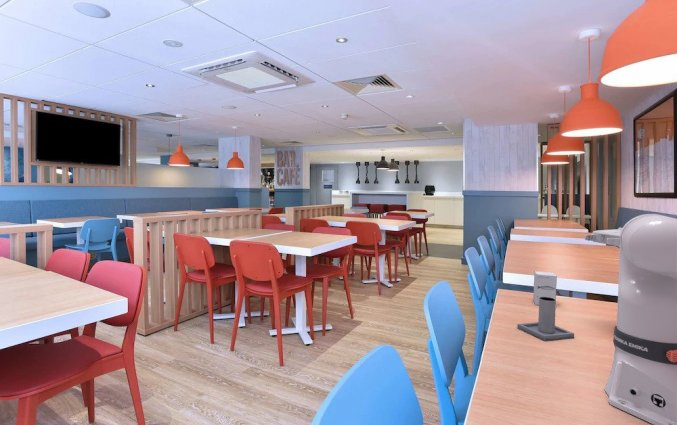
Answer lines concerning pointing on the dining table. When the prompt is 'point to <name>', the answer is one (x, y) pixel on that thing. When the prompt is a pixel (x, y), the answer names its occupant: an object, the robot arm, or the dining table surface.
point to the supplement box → (544, 285)
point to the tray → (557, 335)
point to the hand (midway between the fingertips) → (595, 239)
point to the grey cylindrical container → (546, 315)
